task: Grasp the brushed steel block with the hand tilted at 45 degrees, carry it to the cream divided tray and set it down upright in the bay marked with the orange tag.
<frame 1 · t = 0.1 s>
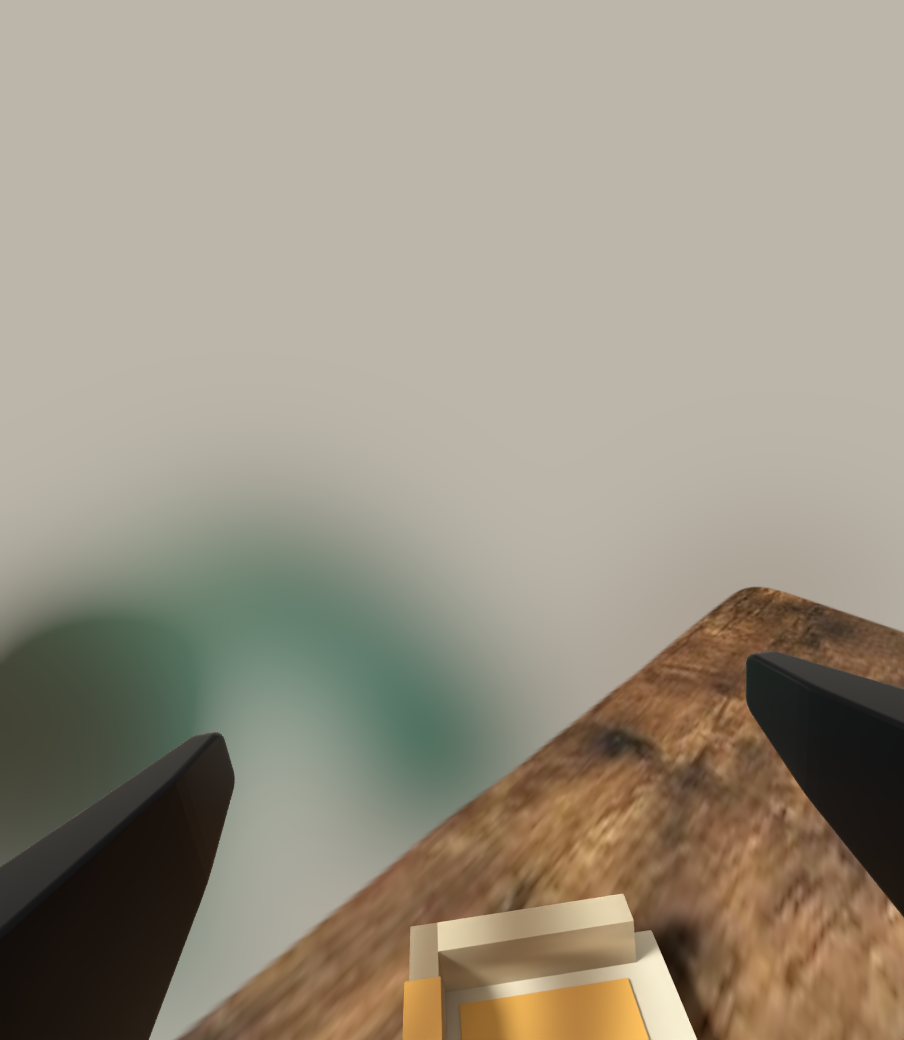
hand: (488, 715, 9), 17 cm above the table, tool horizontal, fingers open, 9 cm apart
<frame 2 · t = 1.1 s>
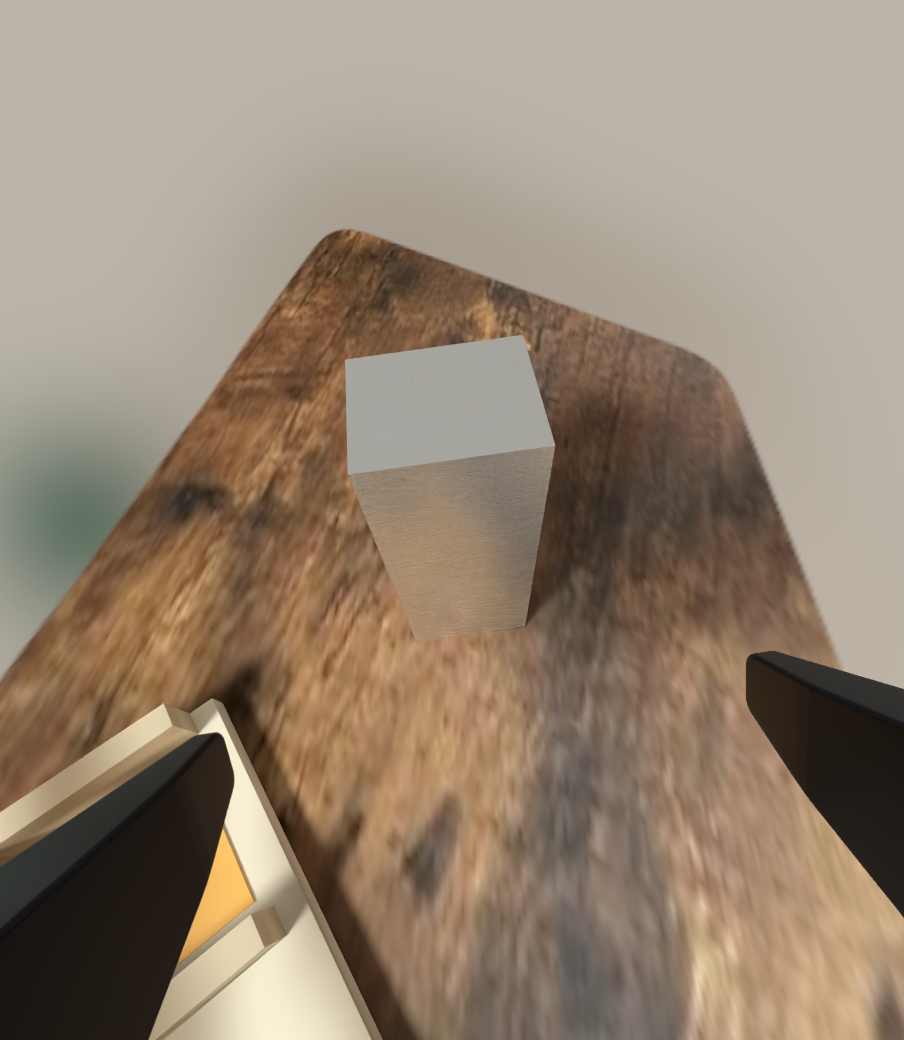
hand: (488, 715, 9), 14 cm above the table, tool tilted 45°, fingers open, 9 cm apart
brushed steel block: (464, 594, 24), on the table
cream divided tray: (199, 991, 17), on the table
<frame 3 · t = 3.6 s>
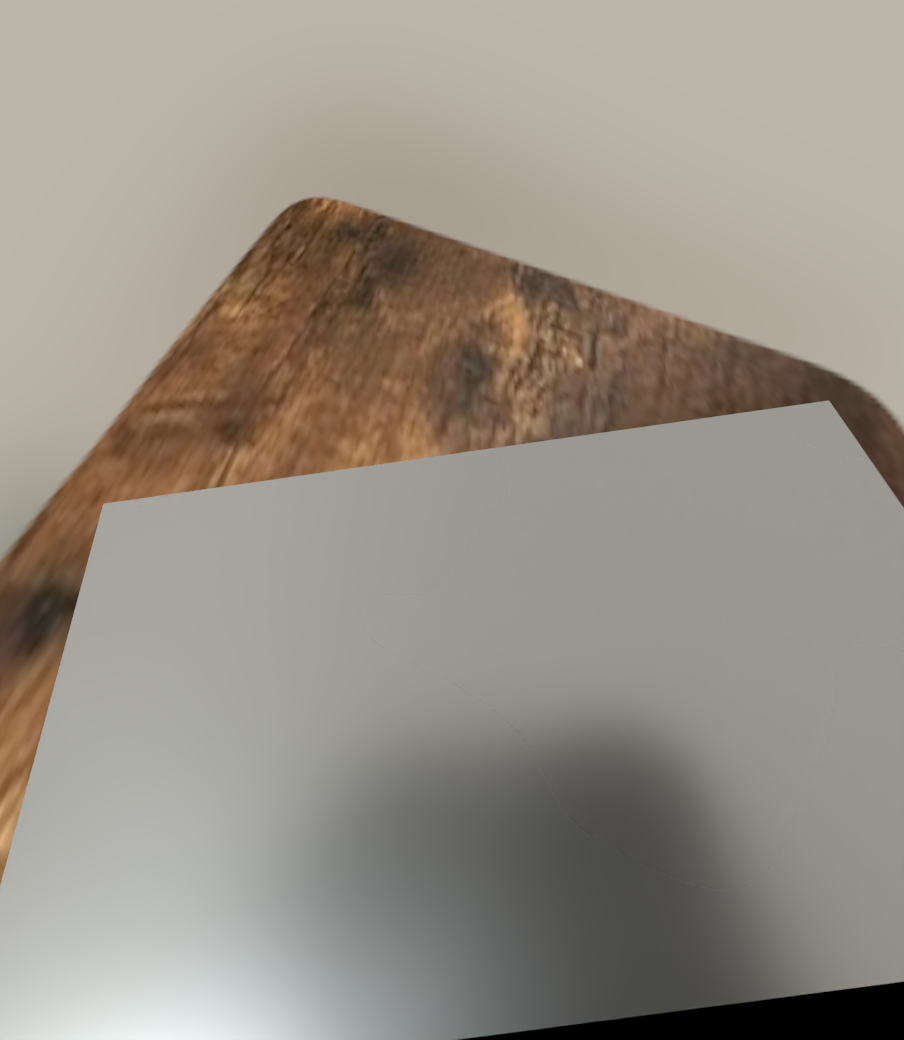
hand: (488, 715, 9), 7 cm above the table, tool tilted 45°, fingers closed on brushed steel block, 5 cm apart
brushed steel block: (497, 814, 14), on the table, touching gripper
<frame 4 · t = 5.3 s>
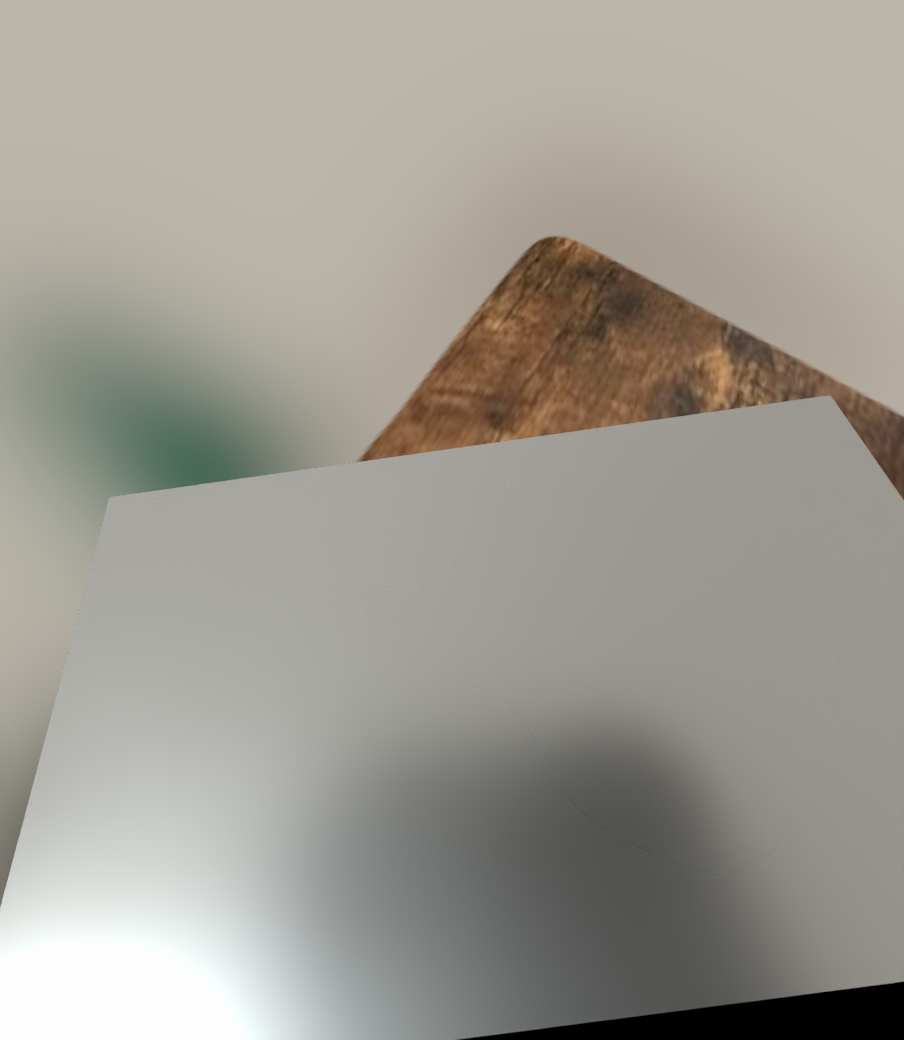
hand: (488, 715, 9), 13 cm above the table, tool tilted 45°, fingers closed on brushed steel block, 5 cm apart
brushed steel block: (498, 812, 14), point 7 cm above the table, touching gripper
when the fingers open (9 cm above the table, at t = 7.1 s): brushed steel block drops 1 cm, resting on cream divided tray.
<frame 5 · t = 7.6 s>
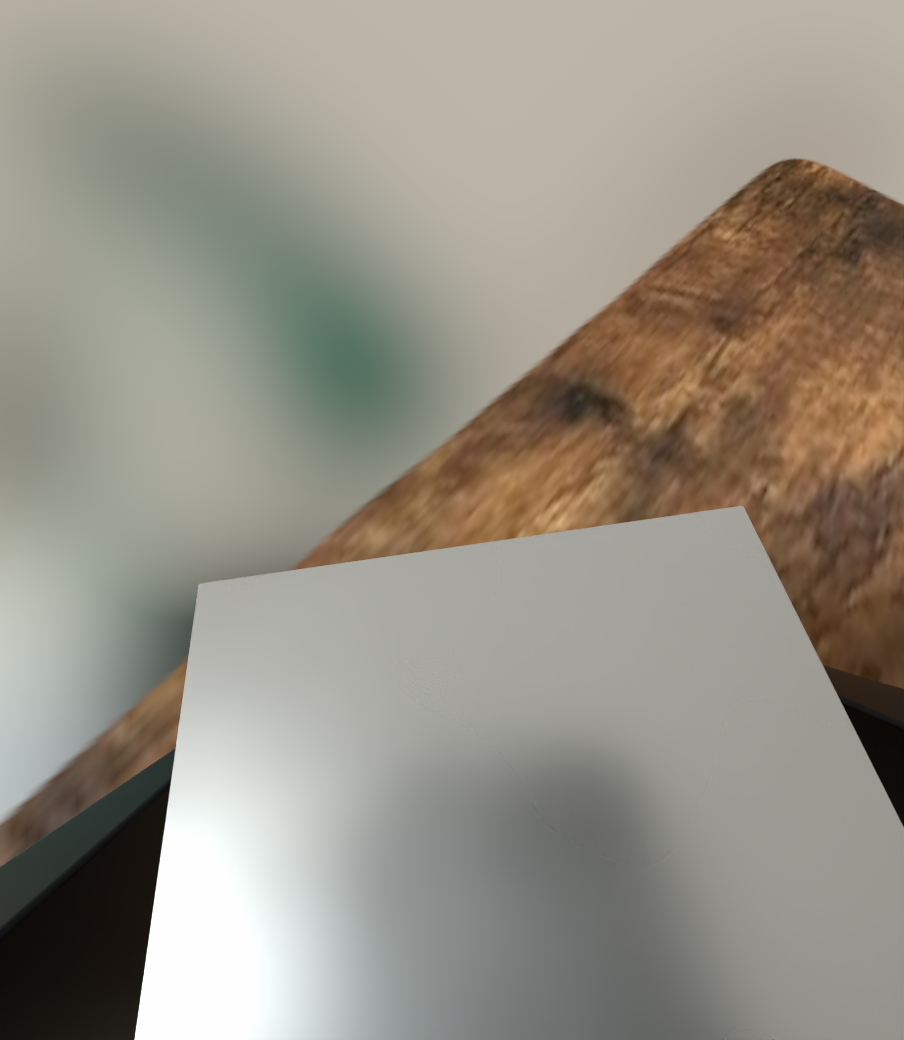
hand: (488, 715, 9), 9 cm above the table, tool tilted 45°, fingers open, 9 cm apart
brushed steel block: (496, 814, 15), point 1 cm above the table, touching cream divided tray
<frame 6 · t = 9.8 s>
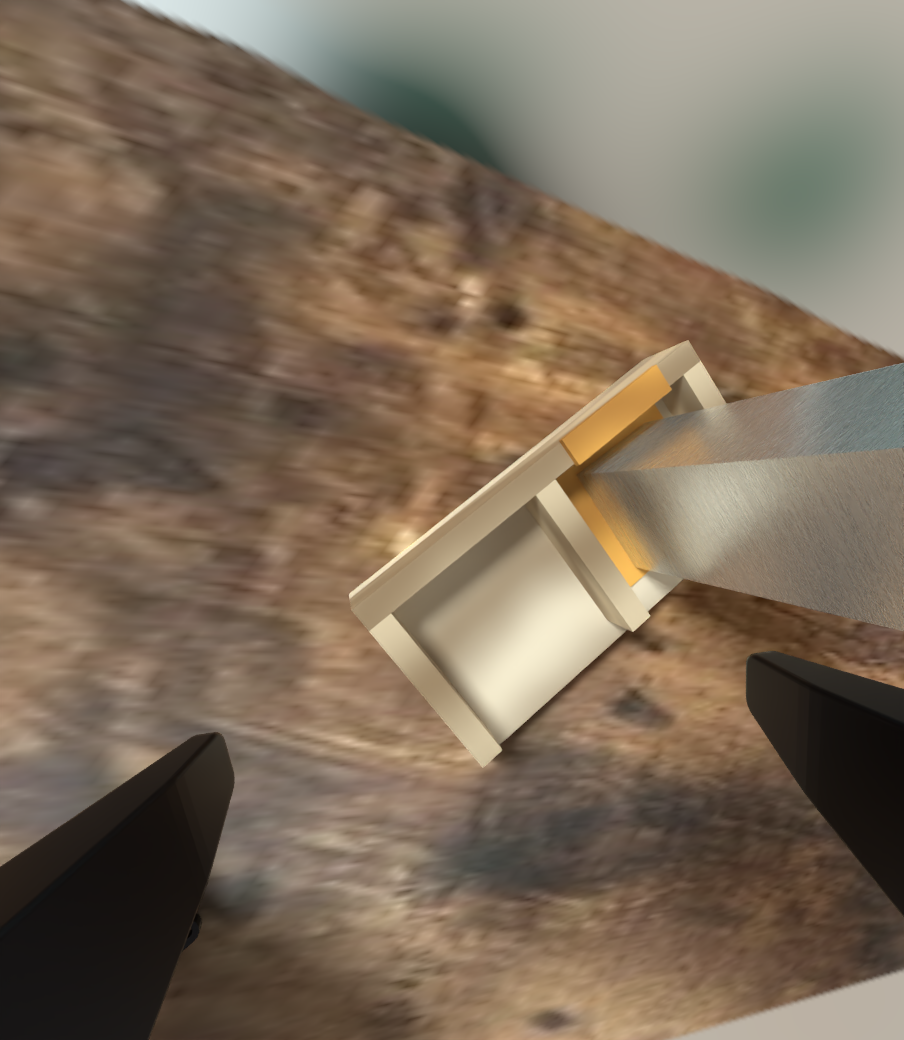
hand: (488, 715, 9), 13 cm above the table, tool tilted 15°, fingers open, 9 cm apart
brushed steel block: (639, 495, 23), point 1 cm above the table, touching cream divided tray
cream divided tray: (562, 549, 23), on the table
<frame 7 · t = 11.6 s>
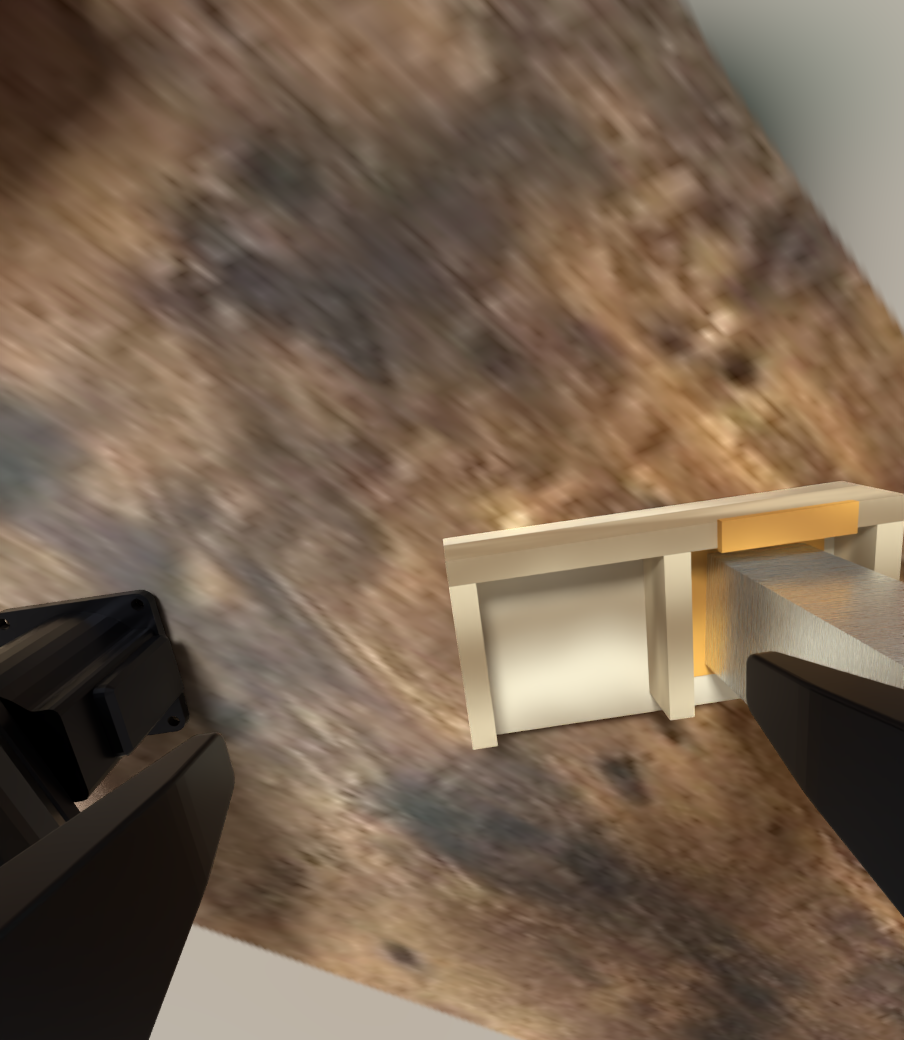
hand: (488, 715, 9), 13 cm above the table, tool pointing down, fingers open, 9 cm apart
brushed steel block: (752, 604, 22), point 1 cm above the table, touching cream divided tray
cream divided tray: (647, 608, 23), on the table
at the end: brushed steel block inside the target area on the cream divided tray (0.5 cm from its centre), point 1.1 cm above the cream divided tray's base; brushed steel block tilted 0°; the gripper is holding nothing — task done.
